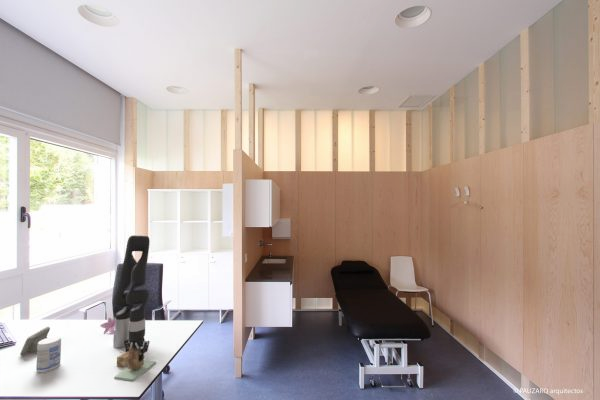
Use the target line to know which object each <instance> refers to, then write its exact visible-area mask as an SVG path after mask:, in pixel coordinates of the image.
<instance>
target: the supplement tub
mask: <svg viewBox="0 0 600 400" xmlns="http://www.w3.org/2000/svg"><path fill="white" fill-rule="evenodd" d="M61 351H62V337H61V336H58V335H57V336H55V335H54V336H49V337H47V338H46V339H43V340H41V341H39V342H38V345H37V353H36V367H35V368H36V369H35V370H36V372H38V373H46V372H47V373H48V372H50V371H52V370H54V369H57V368H58V367H59V366H60V365H61V357H62V356H61Z"/></svg>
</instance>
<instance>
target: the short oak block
mask: <svg viewBox="0 0 600 400" xmlns="http://www.w3.org/2000/svg"><path fill="white" fill-rule="evenodd" d="M128 358H129V352H126V351H124V352H123V353H121V354H119V355H118V356H117V357H116V366H117V367H119V368H120V367H122V368H126V367H128Z"/></svg>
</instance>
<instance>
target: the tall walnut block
mask: <svg viewBox="0 0 600 400" xmlns="http://www.w3.org/2000/svg"><path fill="white" fill-rule="evenodd" d="M139 348H141V347H139ZM141 351H142V349H141ZM128 353H129V358H128V365H127V367H128V369H132V370H137V369H139V368H140V367H141V366H142V365H144V360H145V358H144V359H143V360H142V361H141V362H139V351H138V350H137V348H132V349H129V352H128Z"/></svg>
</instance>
